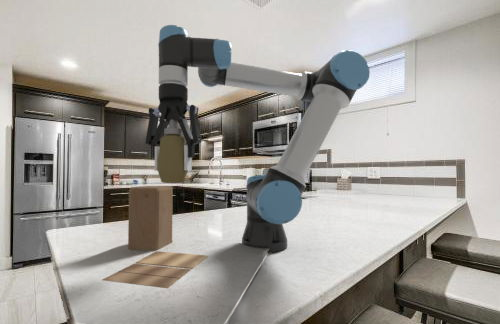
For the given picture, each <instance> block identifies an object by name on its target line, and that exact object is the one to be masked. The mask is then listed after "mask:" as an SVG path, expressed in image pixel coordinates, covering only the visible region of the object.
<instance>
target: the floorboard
mask: <svg viewBox="0 0 500 324" xmlns="http://www.w3.org/2000/svg"><path fill="white" fill-rule="evenodd" d="M191 270H192V269H186V268H176V267H167V266H157V265H147V264H137V263H132V264H130V265H129V266H126V267H125V268H123V269H121V270H118V271H117V272H115V273H112V274H110V275H108V276H106V277H105V278H103V279H102V281H106V282H115V283H124V284H132V285H138V286H146V287H157V288H163V289H169V288H171V286H173V285H174V284H176V282H178V281H179V280H180V279H182V278H183V277H184V276H185V275H187V274H188V273H189V272H191Z"/></svg>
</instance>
